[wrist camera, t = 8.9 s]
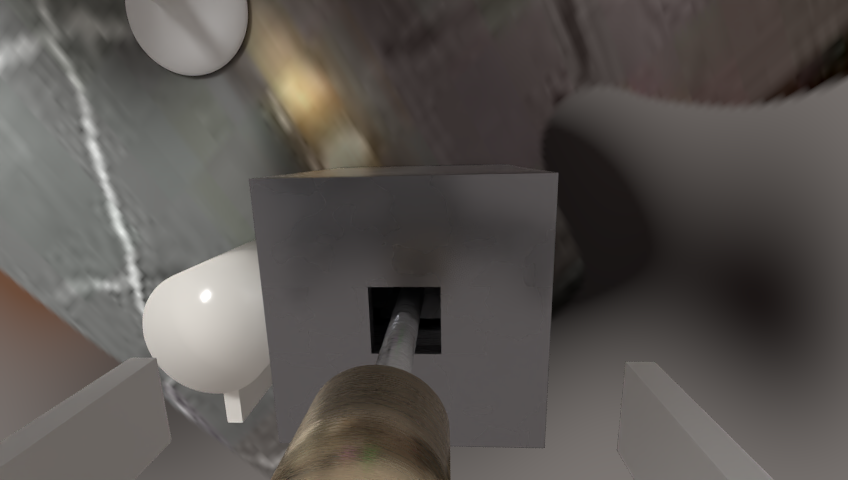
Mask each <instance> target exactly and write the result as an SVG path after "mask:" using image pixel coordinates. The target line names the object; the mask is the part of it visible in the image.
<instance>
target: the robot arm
mask: <svg viewBox="0 0 848 480" xmlns="http://www.w3.org/2000/svg"><path fill="white" fill-rule="evenodd" d="M170 442H171V435H170V430H169V424H168V419H167V413H166V408H165V402H164V397H163V391H162V386H161V380H160V375H159V369H158V364H157V358H130V359H128V360H127V361H125V362H123V363H122V364H120V365H119V366H117V367H116V368H114V369H113V370H111V371H109V372H108V373H107V374H105V375H103V376H102V377H100V378H99V379H97V380H95V381H94V382H92V383H91V384H89V385H88V386H86V387H85V388H83V389H81V390H80V391H79V392H77V393H76V394H74V395H72V396H71V397H69V398H68V399H66V400H64V401H63V402H62V403H60V404H58V405H57V406H55V407H54V408H52V409H50V410H49V411H47V412H46V413H44V414H43V415H41V416H40V417H38V418H37V419H35V420H33V421H32V422H30V423H29V424H27V425H26V426H24V427H23V428H21V429H19V430H18V431H16V432H15V433H13V434H12V435H10V436H9V437H7V438H5V439H4V440H2V441H1V442H0V480H135V479H136V478H137V476H139V474H140V473H141V472H142V471H143V470H144V469H145V468H146V467H147V466H148V465H149V464H150V463H151V462H152V461H153V460H154V459H155V458H156V457H157V456H158V455H159V454H160V453H161V452H162V450H163V449H164V448H165V447H166V446H167V445H168V444H169V443H170ZM617 451H618V452H619V455H620V456H621V458H622V460H623V462H624V463H625V465H626V467H627V469H628V470H629V472H630V474H631V475H632V477H633V479H634V480H774V479H773V478H772V477H771V476H770V475H769V474H768V473H766V471H765V470H764V469H763V468H762V467H761V466H760V465H758V463H757V462H756V461H755V460H754V459H752V458H751V456H749V455H748V454H747V453H746V452H745V451H744V450H743V449H742V448H741V447H740V446H739V445H738V444H737V443H736V442H735V441H734V440H733V439H732V438H731V437H730V436H729V435H728V434H727V433H726V432H725V431H724V430H723V429H722V428H721V427H720V426H719V425H718V424H717V423H716V422H715V421H714V420H713V419H712V418H711V417H710V416H709V415H708V414H707V413H706V412H705V411H704V410H703V409H702V408H701V407H700V406H699V405H698V404H697V403H696V402H695V401H694V400H693V399H692V398H691V397H690V396H689V395H688V394H687V393H686V392H685V391H684V390H683V389H682V388H681V387H680V386H679V385H678V384H677V383H676V382H675V381H674V380H673V379H672V378H671V377H670V376H669V375H668V374H667V373H666V372H665V371H664V370H663V369H662V368H661V367H660V366H658V365H657V363H656V362H626V363H625V372H624V382H623V392H622V404H621V413H620V425H619V435H618V445H617Z"/></svg>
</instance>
